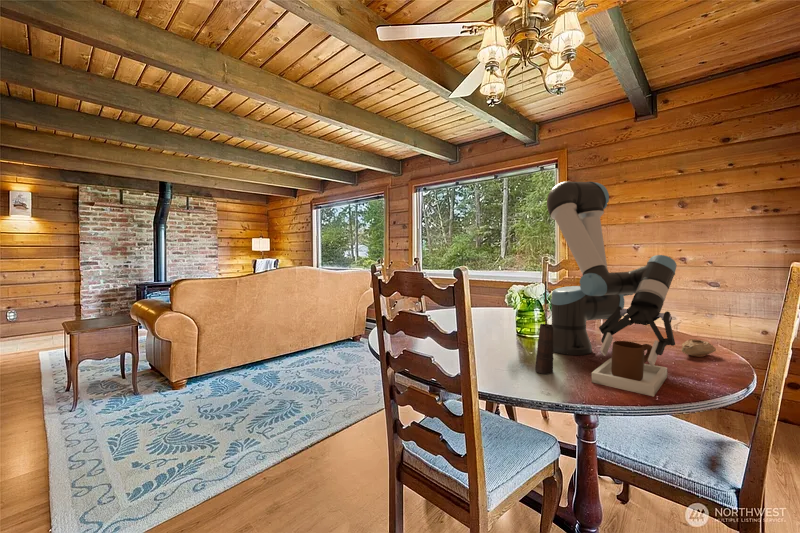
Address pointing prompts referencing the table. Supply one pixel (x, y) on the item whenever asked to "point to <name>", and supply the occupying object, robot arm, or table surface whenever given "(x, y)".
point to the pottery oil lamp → (697, 348)
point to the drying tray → (647, 385)
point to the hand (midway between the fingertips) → (625, 357)
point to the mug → (629, 359)
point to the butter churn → (545, 345)
